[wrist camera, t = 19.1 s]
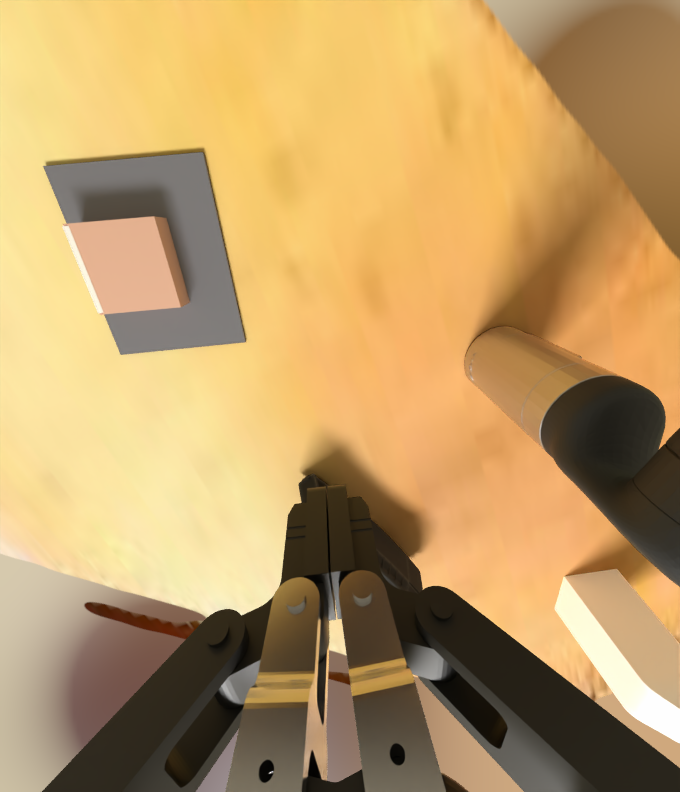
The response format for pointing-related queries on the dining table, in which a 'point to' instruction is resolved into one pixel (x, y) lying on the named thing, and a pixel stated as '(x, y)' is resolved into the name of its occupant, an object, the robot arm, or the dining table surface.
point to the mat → (191, 233)
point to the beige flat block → (128, 264)
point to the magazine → (381, 550)
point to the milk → (625, 646)
